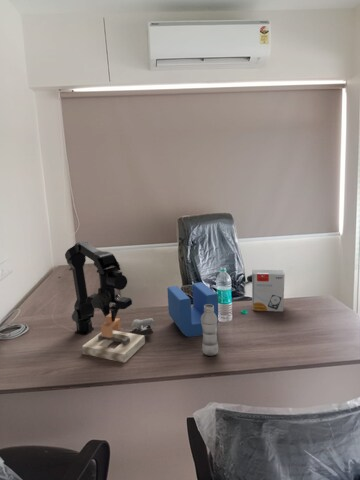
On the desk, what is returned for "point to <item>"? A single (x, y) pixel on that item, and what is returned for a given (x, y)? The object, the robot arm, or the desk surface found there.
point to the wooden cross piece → (110, 326)
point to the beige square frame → (121, 352)
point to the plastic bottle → (209, 331)
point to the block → (182, 310)
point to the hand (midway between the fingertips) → (110, 320)
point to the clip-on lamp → (142, 326)
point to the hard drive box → (268, 290)
